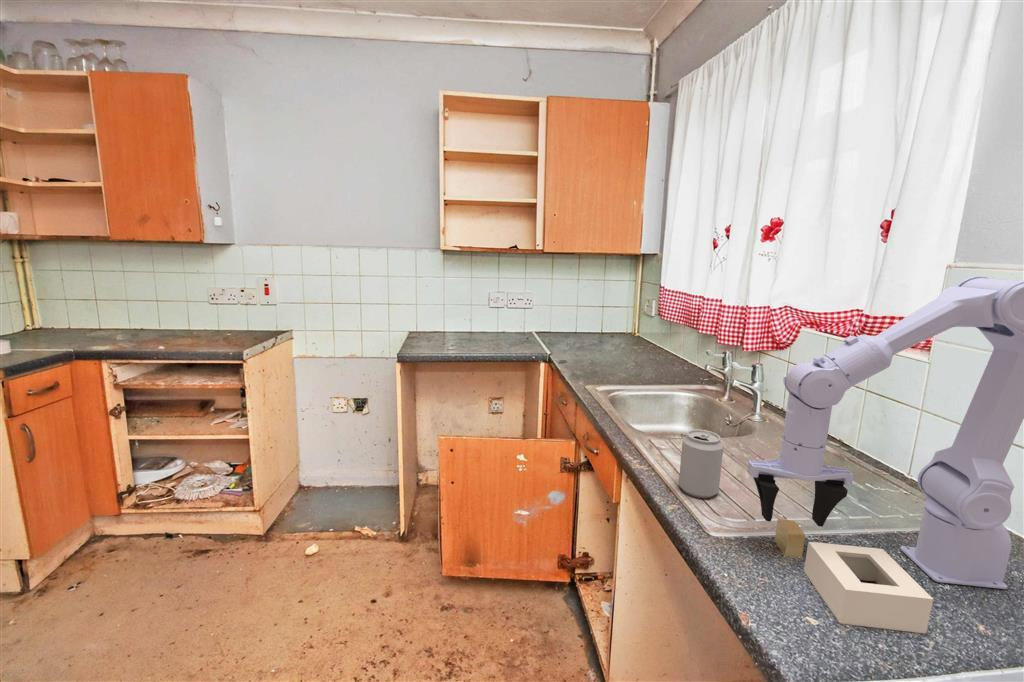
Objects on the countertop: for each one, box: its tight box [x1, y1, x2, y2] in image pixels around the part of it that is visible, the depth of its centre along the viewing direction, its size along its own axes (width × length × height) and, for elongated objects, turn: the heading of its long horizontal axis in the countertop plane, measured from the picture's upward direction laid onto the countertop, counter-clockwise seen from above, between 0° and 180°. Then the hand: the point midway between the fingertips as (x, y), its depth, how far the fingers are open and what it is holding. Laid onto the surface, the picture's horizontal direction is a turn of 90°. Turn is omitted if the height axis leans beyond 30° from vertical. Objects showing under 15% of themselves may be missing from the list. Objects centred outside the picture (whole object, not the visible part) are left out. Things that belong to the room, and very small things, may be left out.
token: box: [774, 518, 806, 558], centre depth 75 cm, size 2×4×4 cm, turn 171°
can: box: [678, 428, 725, 499], centre depth 92 cm, size 8×8×12 cm
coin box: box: [803, 541, 934, 634], centre depth 64 cm, size 10×10×5 cm
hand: (791, 520), depth 74 cm, fingers open, 7 cm apart
